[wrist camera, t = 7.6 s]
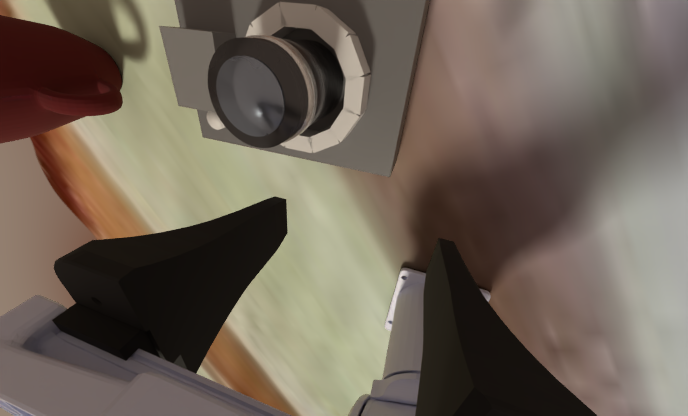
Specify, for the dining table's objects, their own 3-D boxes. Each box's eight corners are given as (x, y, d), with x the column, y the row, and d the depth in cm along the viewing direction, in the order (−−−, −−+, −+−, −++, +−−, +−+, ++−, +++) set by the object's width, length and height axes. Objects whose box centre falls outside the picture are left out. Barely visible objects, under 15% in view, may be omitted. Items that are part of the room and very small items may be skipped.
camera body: (396, 161, 20) (384, 190, 16) (227, 127, 23) (182, 144, 19) (431, -6, 15) (426, -25, 11) (205, -20, 18) (136, -40, 14)
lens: (343, 124, 17) (301, 157, 12) (279, 116, 18) (216, 145, 13) (345, 38, 14) (294, 35, 9) (271, 36, 16) (189, 32, 11)
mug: (151, 31, 21) (-33, 21, 13) (172, 130, 25) (45, 170, 17) (50, 8, 23) (-167, -13, 15) (86, 105, 27) (-65, 130, 19)
